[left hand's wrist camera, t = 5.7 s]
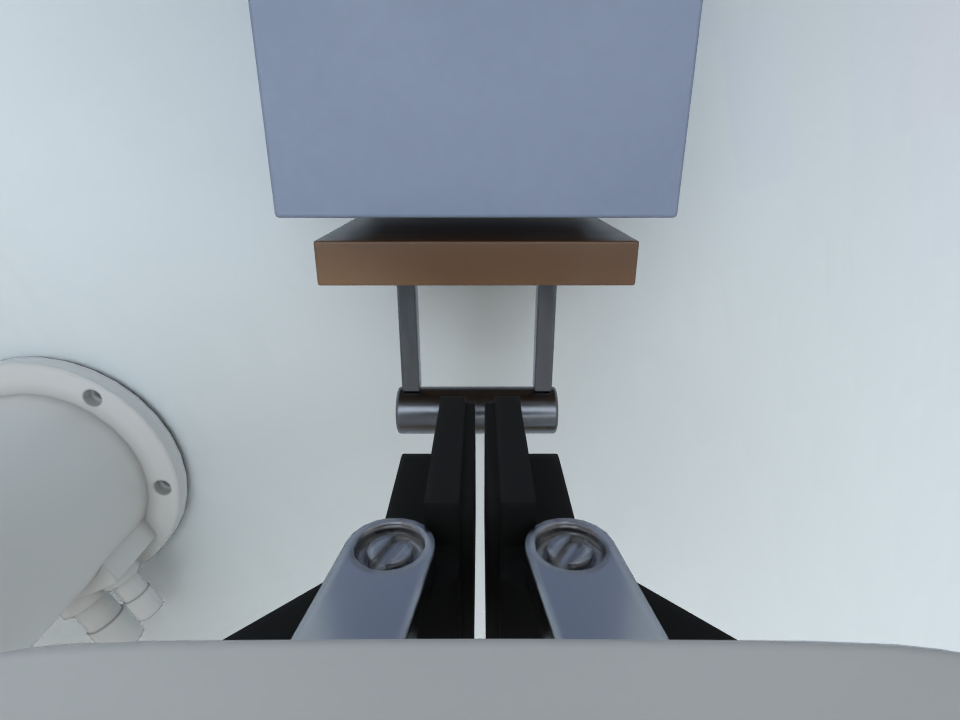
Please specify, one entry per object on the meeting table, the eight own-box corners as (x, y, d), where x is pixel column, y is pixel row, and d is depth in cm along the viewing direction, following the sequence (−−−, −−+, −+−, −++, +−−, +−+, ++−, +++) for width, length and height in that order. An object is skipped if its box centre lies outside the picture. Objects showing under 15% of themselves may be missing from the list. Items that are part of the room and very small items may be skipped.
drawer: (569, 363, 26) (616, 473, 17) (385, 363, 26) (337, 474, 17) (613, -380, 18) (756, -939, 9) (338, -380, 18) (190, -942, 9)
